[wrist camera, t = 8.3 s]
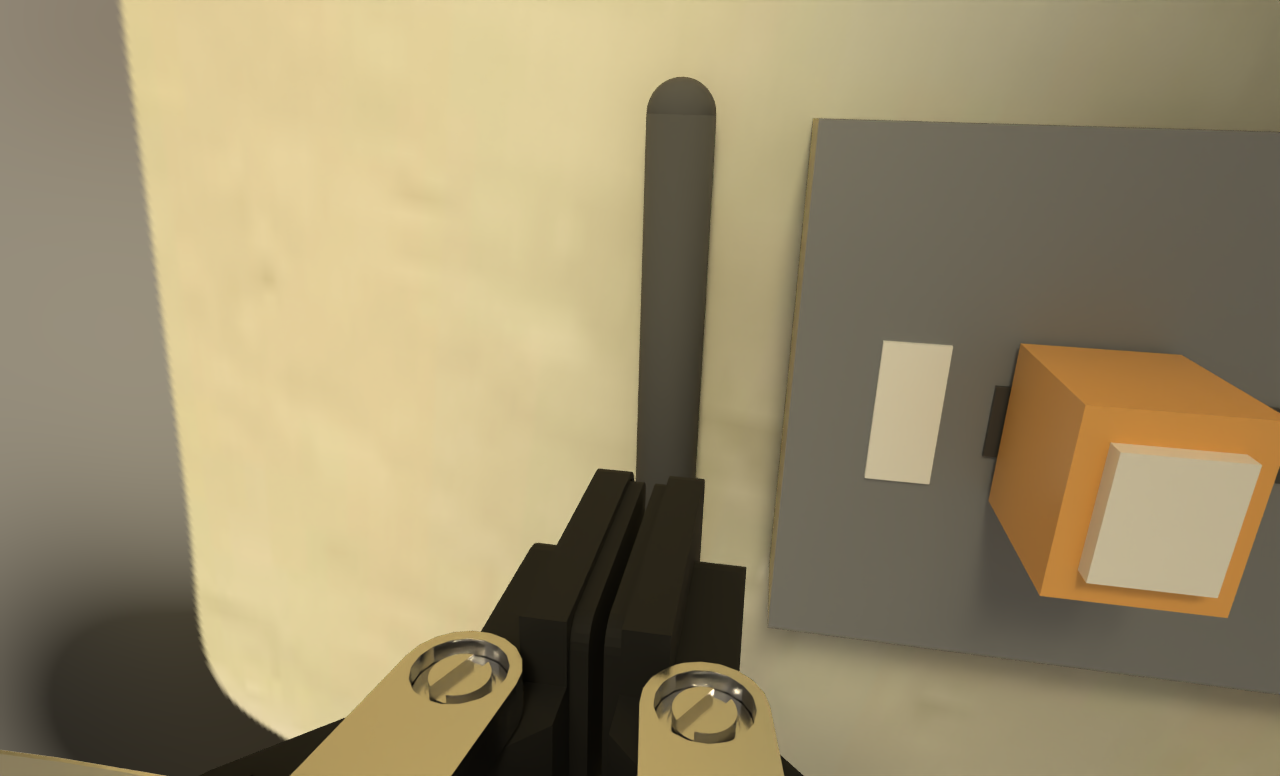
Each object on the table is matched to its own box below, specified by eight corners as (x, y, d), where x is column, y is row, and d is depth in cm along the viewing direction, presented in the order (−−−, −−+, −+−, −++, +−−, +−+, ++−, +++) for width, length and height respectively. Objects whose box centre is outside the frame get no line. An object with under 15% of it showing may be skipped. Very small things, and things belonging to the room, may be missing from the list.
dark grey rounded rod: (653, 77, 18) (641, 74, 17) (721, 79, 18) (715, 75, 16) (638, 570, 23) (628, 602, 21) (691, 577, 22) (685, 609, 21)
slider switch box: (813, 118, 18) (819, 118, 15) (1870, 149, 15) (2134, 157, 12) (769, 562, 22) (767, 630, 19) (1590, 659, 19) (1737, 758, 16)
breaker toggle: (1020, 343, 16) (1095, 413, 12) (1181, 354, 15) (1311, 431, 11) (988, 500, 17) (1046, 609, 13) (1136, 515, 16) (1240, 632, 13)
